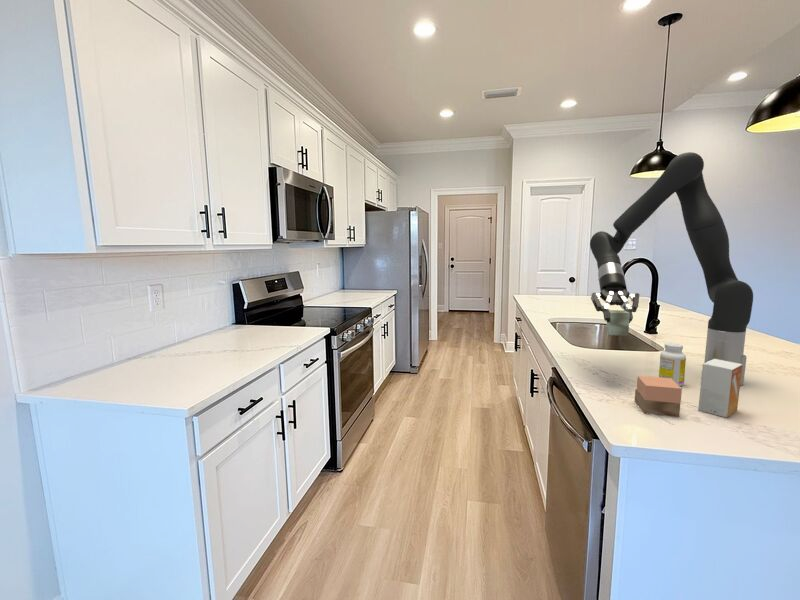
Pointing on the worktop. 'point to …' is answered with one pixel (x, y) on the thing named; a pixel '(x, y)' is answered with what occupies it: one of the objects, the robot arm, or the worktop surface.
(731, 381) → the small box
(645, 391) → the tower top block
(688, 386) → the worktop surface
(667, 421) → the butter knife
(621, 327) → the green block
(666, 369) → the supplement bottle
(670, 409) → the tower base block
